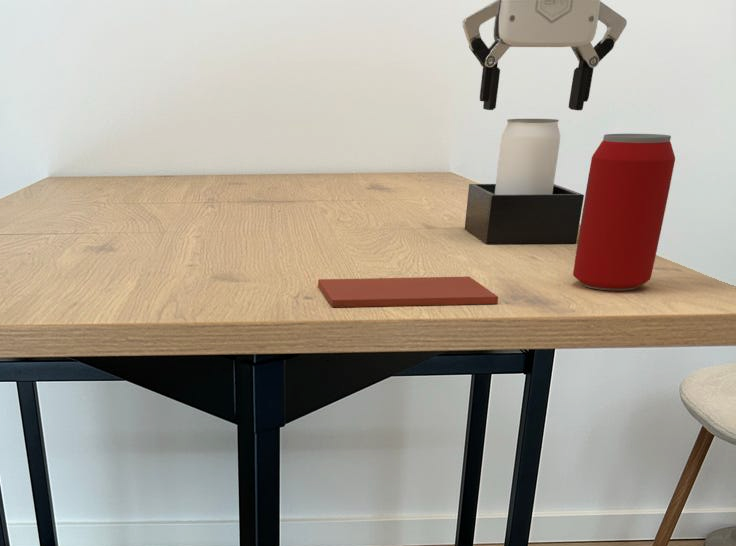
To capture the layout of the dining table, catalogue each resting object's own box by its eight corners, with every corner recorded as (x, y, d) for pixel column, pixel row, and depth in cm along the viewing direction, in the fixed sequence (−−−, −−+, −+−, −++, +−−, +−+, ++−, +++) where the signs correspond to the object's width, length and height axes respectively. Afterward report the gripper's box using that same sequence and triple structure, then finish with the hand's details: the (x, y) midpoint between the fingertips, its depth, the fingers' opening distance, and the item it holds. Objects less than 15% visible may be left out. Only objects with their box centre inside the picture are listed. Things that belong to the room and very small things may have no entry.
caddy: (576, 243, 105) (584, 194, 103) (486, 244, 105) (491, 195, 103) (546, 228, 116) (553, 183, 113) (464, 228, 116) (469, 184, 113)
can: (555, 239, 108) (573, 120, 102) (502, 240, 107) (516, 121, 101) (532, 231, 114) (548, 118, 107) (481, 232, 113) (494, 118, 106)
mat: (468, 283, 86) (469, 276, 86) (497, 304, 78) (498, 296, 78) (317, 286, 85) (318, 279, 85) (332, 307, 77) (332, 299, 77)
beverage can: (623, 277, 88) (650, 132, 82) (664, 290, 82) (697, 136, 76) (557, 280, 87) (580, 133, 81) (594, 294, 81) (622, 138, 75)
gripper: (482, -90, 92) (461, 111, 101) (657, -89, 92) (620, 111, 101) (466, -80, 98) (448, 107, 107) (630, -79, 98) (598, 108, 107)
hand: (532, 109), depth 104 cm, fingers open, 9 cm apart
